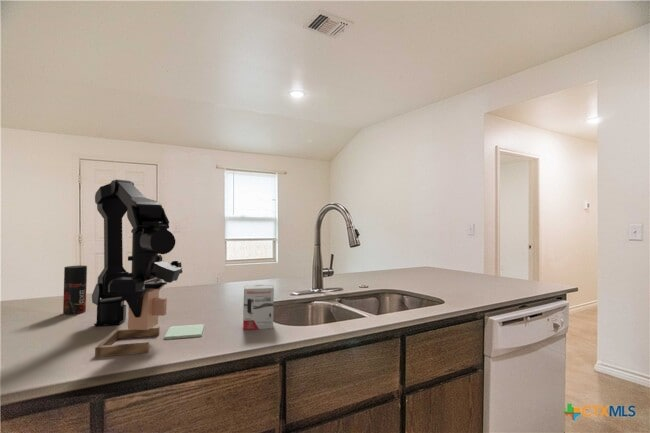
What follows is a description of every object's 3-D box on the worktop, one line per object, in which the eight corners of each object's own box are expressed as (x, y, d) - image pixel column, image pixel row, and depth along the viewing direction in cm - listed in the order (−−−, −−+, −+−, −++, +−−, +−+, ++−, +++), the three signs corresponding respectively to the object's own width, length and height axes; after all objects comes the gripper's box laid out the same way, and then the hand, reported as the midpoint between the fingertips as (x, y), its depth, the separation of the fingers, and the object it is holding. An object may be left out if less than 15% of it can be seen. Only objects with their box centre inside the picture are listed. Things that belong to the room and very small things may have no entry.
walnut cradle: (94, 356, 74) (95, 347, 74) (114, 337, 86) (115, 329, 86) (147, 352, 76) (147, 343, 76) (159, 334, 89) (159, 326, 89)
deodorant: (71, 310, 112) (72, 265, 112) (89, 310, 112) (90, 265, 112) (58, 315, 106) (59, 267, 106) (78, 314, 106) (79, 267, 107)
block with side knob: (128, 329, 81) (128, 292, 81) (139, 323, 85) (140, 288, 86) (159, 330, 80) (160, 292, 80) (169, 324, 85) (170, 288, 85)
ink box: (242, 330, 93) (243, 287, 93) (243, 325, 98) (243, 284, 98) (273, 328, 95) (274, 287, 95) (272, 323, 100) (273, 283, 100)
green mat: (164, 339, 85) (164, 336, 85) (170, 328, 94) (170, 326, 94) (201, 336, 87) (201, 334, 88) (204, 326, 96) (204, 324, 96)
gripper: (156, 255, 74) (155, 326, 73) (192, 249, 92) (191, 305, 92) (107, 254, 74) (105, 325, 74) (153, 248, 93) (152, 305, 92)
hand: (143, 314), depth 83 cm, fingers closed on block with side knob, 5 cm apart
